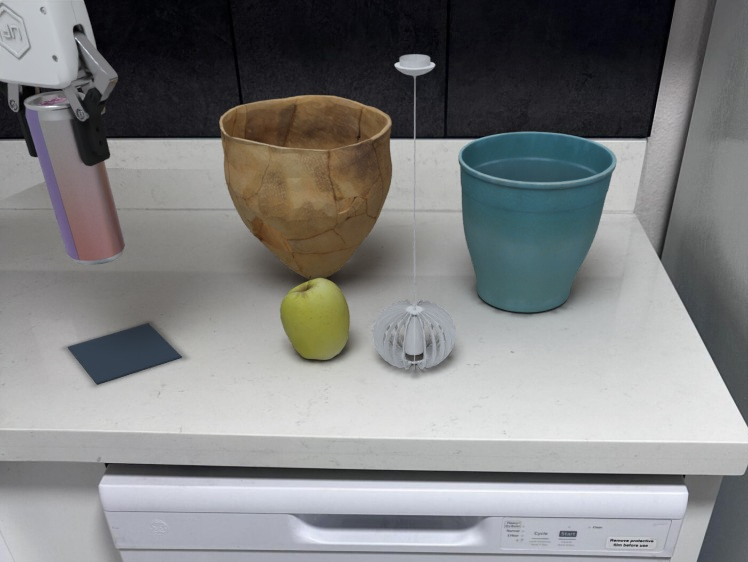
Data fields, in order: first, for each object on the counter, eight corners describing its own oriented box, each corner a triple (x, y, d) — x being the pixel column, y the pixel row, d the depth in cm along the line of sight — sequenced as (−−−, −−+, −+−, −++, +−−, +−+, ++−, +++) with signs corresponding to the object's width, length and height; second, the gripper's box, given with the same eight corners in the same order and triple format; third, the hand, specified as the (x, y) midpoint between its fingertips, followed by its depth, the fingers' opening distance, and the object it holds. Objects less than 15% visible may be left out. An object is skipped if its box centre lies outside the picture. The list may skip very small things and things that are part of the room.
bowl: (418, 262, 110) (419, 103, 96) (351, 325, 96) (341, 151, 83) (289, 238, 116) (273, 87, 103) (209, 295, 103) (179, 128, 89)
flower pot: (591, 333, 94) (616, 186, 83) (442, 320, 97) (447, 176, 85) (595, 270, 107) (617, 135, 96) (463, 260, 110) (469, 128, 98)
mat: (67, 348, 93) (67, 346, 92) (148, 324, 97) (148, 322, 97) (96, 384, 86) (96, 383, 86) (181, 357, 91) (181, 356, 91)
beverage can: (56, 262, 82) (7, 104, 72) (90, 240, 87) (48, 88, 77) (105, 269, 81) (62, 109, 71) (137, 247, 85) (100, 92, 75)
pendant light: (356, 358, 90) (341, 58, 70) (413, 330, 95) (414, 42, 75) (414, 389, 85) (415, 75, 65) (471, 358, 90) (489, 57, 70)
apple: (374, 338, 91) (350, 266, 83) (325, 381, 89) (296, 311, 81) (330, 316, 96) (303, 246, 88) (282, 356, 93) (250, 288, 85)
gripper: (-105, -73, 65) (-24, 157, 77) (55, -65, 60) (115, 181, 72) (-34, -81, 70) (32, 137, 82) (120, -75, 65) (165, 157, 77)
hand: (70, 155), depth 77 cm, fingers closed on beverage can, 6 cm apart
